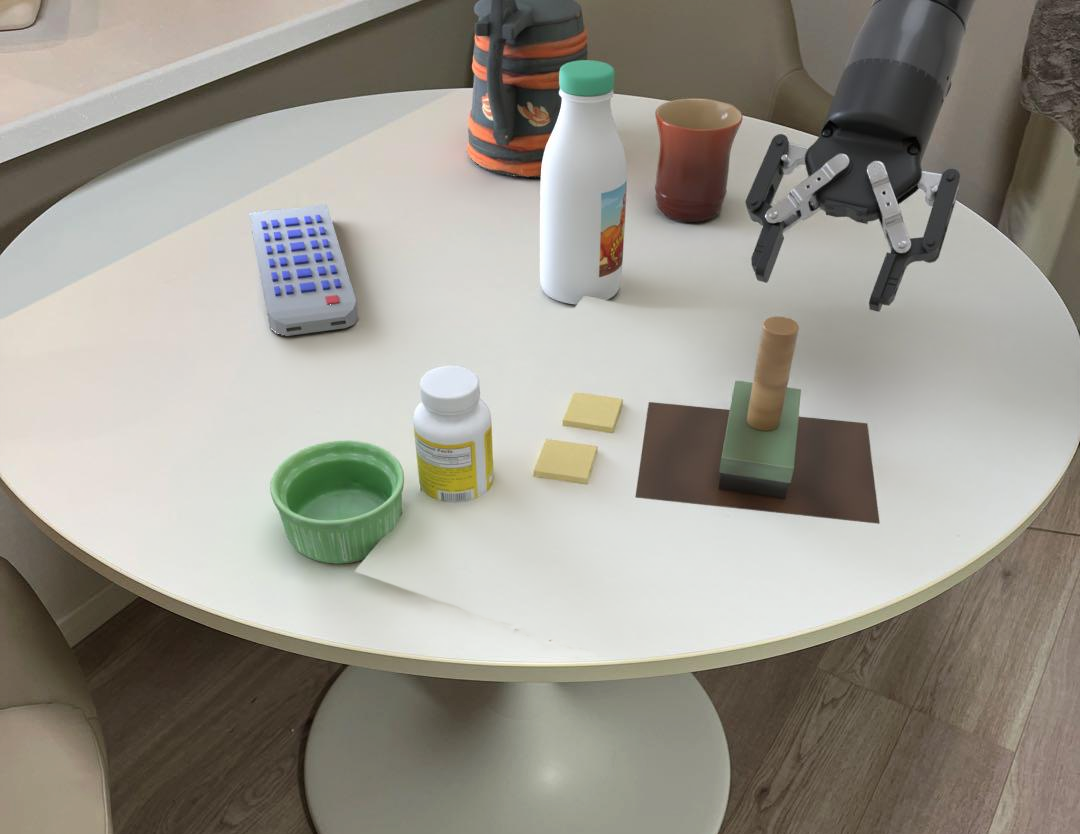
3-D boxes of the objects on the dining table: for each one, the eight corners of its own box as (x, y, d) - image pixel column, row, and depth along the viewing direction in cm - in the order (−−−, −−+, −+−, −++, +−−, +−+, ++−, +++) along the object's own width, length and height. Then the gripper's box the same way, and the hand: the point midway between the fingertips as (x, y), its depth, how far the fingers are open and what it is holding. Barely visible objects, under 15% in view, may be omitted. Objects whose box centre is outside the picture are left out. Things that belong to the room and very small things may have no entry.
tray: (863, 438, 83) (867, 422, 82) (875, 539, 74) (879, 523, 73) (647, 417, 85) (648, 401, 84) (633, 513, 76) (635, 496, 75)
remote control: (329, 221, 110) (327, 201, 109) (361, 329, 94) (359, 307, 93) (252, 230, 109) (248, 209, 107) (271, 341, 93) (267, 318, 91)
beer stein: (570, 204, 114) (576, 3, 100) (440, 189, 116) (428, -9, 103) (603, 137, 127) (612, -47, 114) (486, 126, 130) (481, -56, 116)
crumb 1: (621, 419, 84) (623, 398, 83) (612, 448, 82) (613, 427, 80) (573, 411, 85) (573, 391, 84) (561, 440, 82) (562, 419, 81)
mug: (704, 236, 108) (716, 137, 101) (631, 214, 112) (638, 116, 105) (757, 197, 116) (772, 101, 109) (688, 177, 119) (698, 83, 112)
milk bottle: (573, 315, 96) (579, 89, 83) (523, 283, 101) (521, 63, 88) (637, 291, 100) (653, 70, 86) (586, 261, 104) (594, 46, 91)
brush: (794, 421, 82) (821, 294, 75) (786, 501, 75) (815, 369, 67) (729, 412, 83) (750, 285, 75) (716, 490, 75) (736, 359, 68)
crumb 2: (596, 466, 80) (597, 445, 78) (586, 499, 77) (587, 478, 76) (545, 459, 80) (545, 438, 79) (533, 491, 78) (533, 470, 76)
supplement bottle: (460, 461, 80) (454, 350, 74) (509, 494, 77) (507, 381, 71) (404, 492, 77) (393, 380, 71) (453, 528, 74) (446, 414, 68)
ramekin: (254, 549, 73) (242, 500, 70) (324, 474, 79) (317, 426, 76) (367, 586, 70) (360, 537, 67) (431, 506, 76) (427, 458, 73)
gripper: (794, 39, 76) (716, 251, 76) (998, 73, 71) (914, 300, 71) (804, 92, 83) (732, 286, 83) (991, 126, 78) (914, 333, 78)
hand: (816, 292), depth 77 cm, fingers open, 8 cm apart
